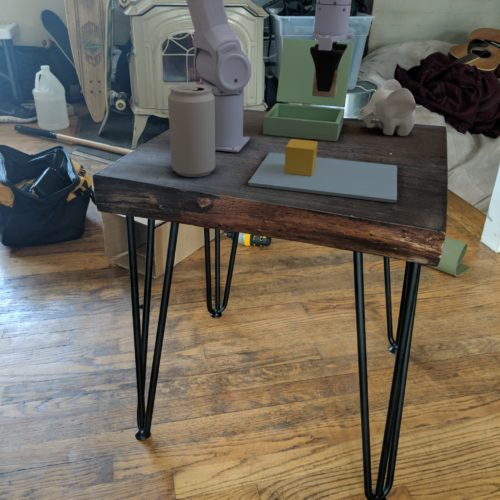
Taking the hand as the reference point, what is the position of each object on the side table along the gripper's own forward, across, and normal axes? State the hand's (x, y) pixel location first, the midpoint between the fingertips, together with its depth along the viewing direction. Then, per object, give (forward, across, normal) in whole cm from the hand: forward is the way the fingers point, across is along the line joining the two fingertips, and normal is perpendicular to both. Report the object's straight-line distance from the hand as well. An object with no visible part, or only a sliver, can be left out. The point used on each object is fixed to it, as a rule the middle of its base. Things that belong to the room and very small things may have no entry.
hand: (325, 88), depth 92 cm
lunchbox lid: (-1, +9, +3) cm, 9 cm away
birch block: (+1, 0, 0) cm, 1 cm away
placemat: (+8, -23, -4) cm, 25 cm away
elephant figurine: (+8, +5, -12) cm, 15 cm away
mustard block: (+8, -23, 0) cm, 24 cm away
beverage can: (+8, -27, +15) cm, 32 cm away
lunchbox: (+8, +1, +3) cm, 9 cm away
